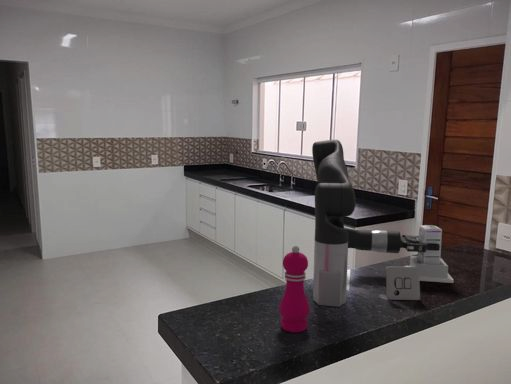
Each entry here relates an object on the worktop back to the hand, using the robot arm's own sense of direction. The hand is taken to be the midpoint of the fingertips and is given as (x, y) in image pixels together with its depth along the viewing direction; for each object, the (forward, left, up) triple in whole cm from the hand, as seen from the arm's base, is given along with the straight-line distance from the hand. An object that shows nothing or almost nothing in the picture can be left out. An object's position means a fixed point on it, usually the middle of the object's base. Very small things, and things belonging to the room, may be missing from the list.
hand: (436, 244), depth 139 cm
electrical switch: (-23, +14, -11) cm, 29 cm away
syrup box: (0, +2, -9) cm, 9 cm away
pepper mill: (-49, +42, -11) cm, 66 cm away
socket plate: (0, +2, -11) cm, 11 cm away
